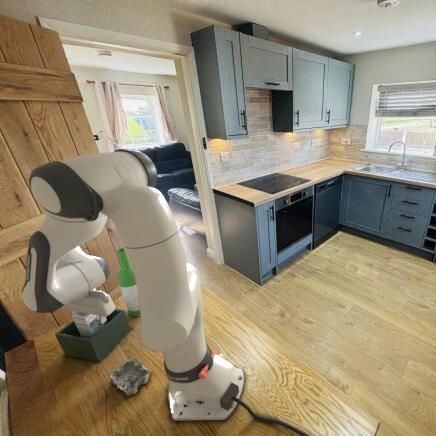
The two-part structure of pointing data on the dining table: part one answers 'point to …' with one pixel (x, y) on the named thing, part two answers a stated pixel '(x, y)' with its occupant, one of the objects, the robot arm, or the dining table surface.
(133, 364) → the grey jagged rectangular tray
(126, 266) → the wine bottle
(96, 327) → the syrup box
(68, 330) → the waste bin
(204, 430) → the dining table surface
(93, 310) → the robot arm
